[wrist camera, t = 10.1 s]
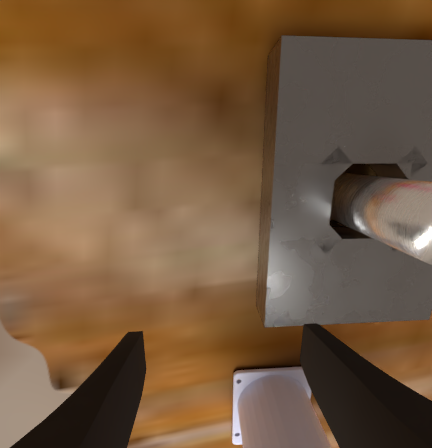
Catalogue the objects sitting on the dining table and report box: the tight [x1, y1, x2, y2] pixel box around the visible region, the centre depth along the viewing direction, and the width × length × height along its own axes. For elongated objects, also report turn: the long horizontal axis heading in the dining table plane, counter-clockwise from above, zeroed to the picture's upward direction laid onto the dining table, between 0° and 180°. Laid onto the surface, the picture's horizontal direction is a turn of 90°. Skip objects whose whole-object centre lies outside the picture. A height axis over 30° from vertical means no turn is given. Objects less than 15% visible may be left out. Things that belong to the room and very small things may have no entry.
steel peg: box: [330, 173, 432, 265], centre depth 16 cm, size 4×4×9 cm
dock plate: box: [256, 35, 432, 327], centre depth 19 cm, size 20×14×3 cm
